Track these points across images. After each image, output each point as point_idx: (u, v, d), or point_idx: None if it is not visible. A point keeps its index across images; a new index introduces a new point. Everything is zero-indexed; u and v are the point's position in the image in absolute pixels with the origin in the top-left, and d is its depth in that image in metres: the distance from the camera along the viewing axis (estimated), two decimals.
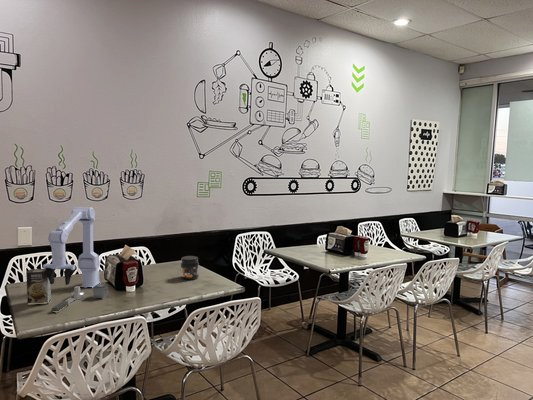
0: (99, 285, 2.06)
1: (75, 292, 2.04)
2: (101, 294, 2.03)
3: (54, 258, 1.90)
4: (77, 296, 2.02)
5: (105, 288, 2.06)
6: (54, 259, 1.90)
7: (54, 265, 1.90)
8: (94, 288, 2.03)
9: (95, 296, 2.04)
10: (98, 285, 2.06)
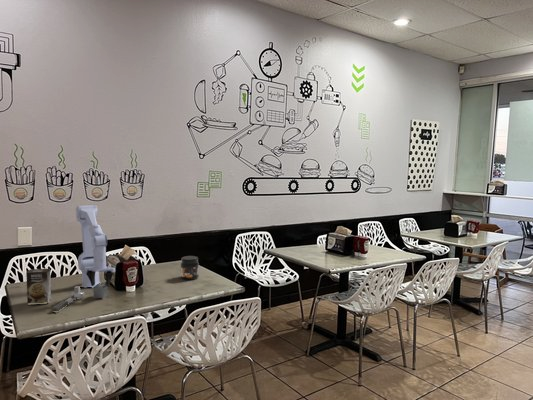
0: (99, 285, 2.06)
1: (75, 292, 2.04)
2: (101, 294, 2.03)
3: (96, 261, 2.01)
4: (77, 296, 2.02)
5: (105, 288, 2.06)
6: (96, 262, 2.01)
7: (96, 268, 2.02)
8: (94, 288, 2.03)
9: (95, 296, 2.04)
10: (98, 285, 2.06)
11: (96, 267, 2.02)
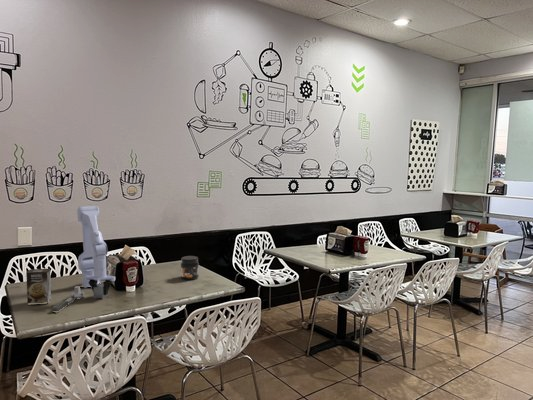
0: (99, 285, 2.06)
1: (75, 292, 2.04)
2: (101, 294, 2.03)
3: (96, 270, 2.02)
4: (77, 296, 2.02)
5: None
6: (96, 271, 2.02)
7: (96, 277, 2.02)
8: (94, 288, 2.03)
9: (95, 296, 2.04)
10: (98, 285, 2.06)
11: (96, 276, 2.02)
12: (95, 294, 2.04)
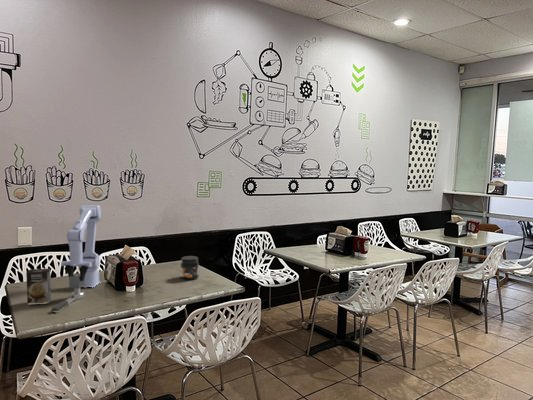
0: (75, 275, 2.03)
1: (75, 292, 2.04)
2: (77, 284, 2.01)
3: (72, 255, 2.00)
4: (77, 296, 2.02)
5: None
6: (72, 256, 2.00)
7: (72, 262, 2.00)
8: (70, 278, 2.01)
9: (71, 286, 2.02)
10: (74, 275, 2.03)
11: (72, 261, 2.00)
12: (71, 284, 2.01)
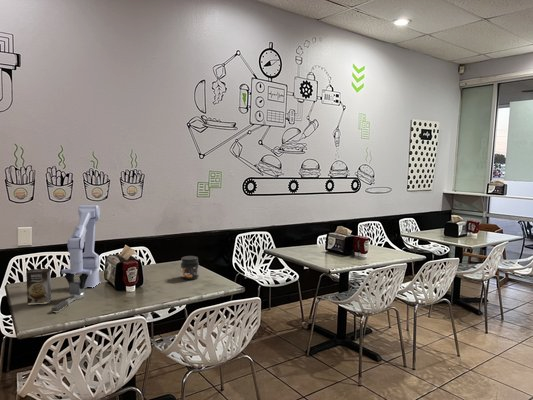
0: (75, 281, 2.04)
1: None
2: (77, 290, 2.02)
3: (72, 264, 2.00)
4: (77, 296, 2.02)
5: None
6: (72, 264, 2.00)
7: (72, 270, 2.01)
8: (70, 284, 2.01)
9: (71, 292, 2.02)
10: (74, 281, 2.04)
11: (72, 269, 2.01)
12: (71, 290, 2.02)
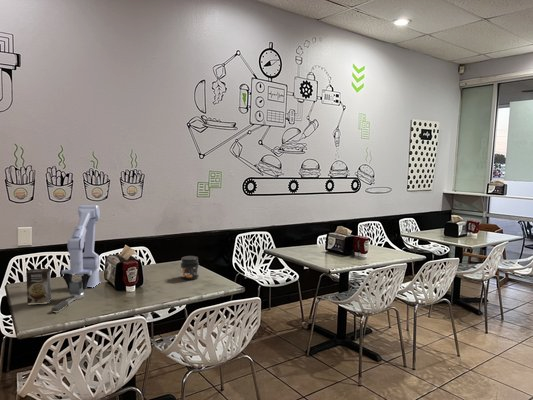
0: (75, 281, 2.04)
1: None
2: (77, 290, 2.02)
3: (72, 264, 2.00)
4: (77, 296, 2.02)
5: (81, 284, 2.04)
6: (72, 265, 2.00)
7: (72, 271, 2.01)
8: (70, 284, 2.01)
9: (71, 292, 2.02)
10: (74, 281, 2.04)
11: (72, 270, 2.01)
12: (71, 290, 2.02)
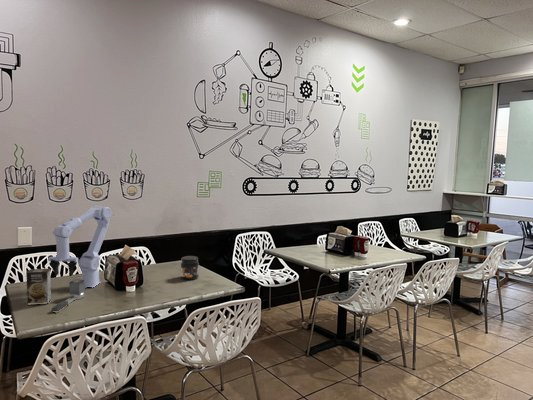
0: (75, 281, 2.04)
1: None
2: (77, 290, 2.02)
3: (58, 251, 2.04)
4: (77, 296, 2.02)
5: (81, 284, 2.04)
6: (58, 252, 2.04)
7: (58, 257, 2.05)
8: (70, 284, 2.01)
9: (71, 292, 2.02)
10: (74, 281, 2.04)
11: (59, 257, 2.04)
12: (71, 290, 2.02)
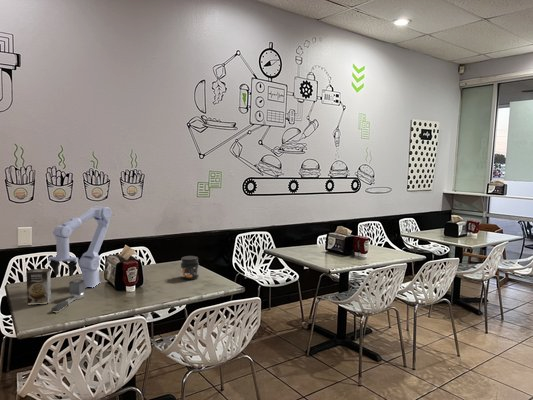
0: (75, 281, 2.04)
1: None
2: (77, 290, 2.02)
3: (58, 251, 2.04)
4: (77, 296, 2.02)
5: (81, 284, 2.04)
6: (58, 252, 2.04)
7: (58, 257, 2.05)
8: (70, 284, 2.01)
9: (71, 292, 2.02)
10: (74, 281, 2.04)
11: (59, 257, 2.04)
12: (71, 290, 2.02)
